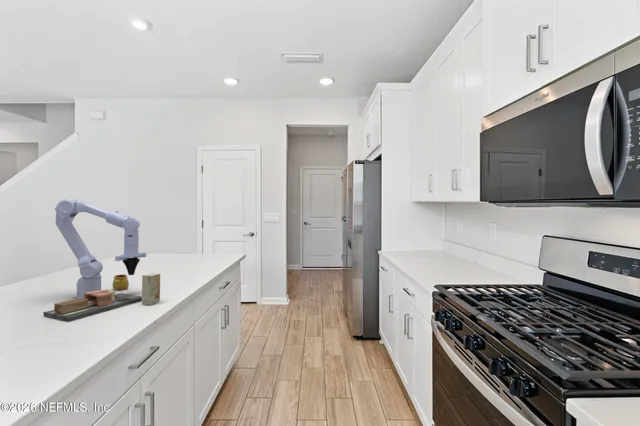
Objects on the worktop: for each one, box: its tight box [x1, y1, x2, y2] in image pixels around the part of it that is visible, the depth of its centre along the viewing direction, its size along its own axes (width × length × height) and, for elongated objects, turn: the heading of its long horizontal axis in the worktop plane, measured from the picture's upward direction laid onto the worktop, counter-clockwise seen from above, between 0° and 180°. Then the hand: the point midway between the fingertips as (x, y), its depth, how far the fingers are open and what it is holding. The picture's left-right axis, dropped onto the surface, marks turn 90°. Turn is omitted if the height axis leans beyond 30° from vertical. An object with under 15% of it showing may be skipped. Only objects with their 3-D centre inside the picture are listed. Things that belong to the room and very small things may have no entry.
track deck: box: [43, 290, 142, 323], centre depth 140 cm, size 14×32×6 cm, turn 157°
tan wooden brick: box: [53, 289, 116, 314], centre depth 135 cm, size 6×20×4 cm, turn 157°
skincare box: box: [141, 272, 161, 306], centre depth 147 cm, size 6×4×12 cm
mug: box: [112, 274, 129, 292], centre depth 173 cm, size 12×7×7 cm, turn 29°
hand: (131, 274), depth 159 cm, fingers closed
